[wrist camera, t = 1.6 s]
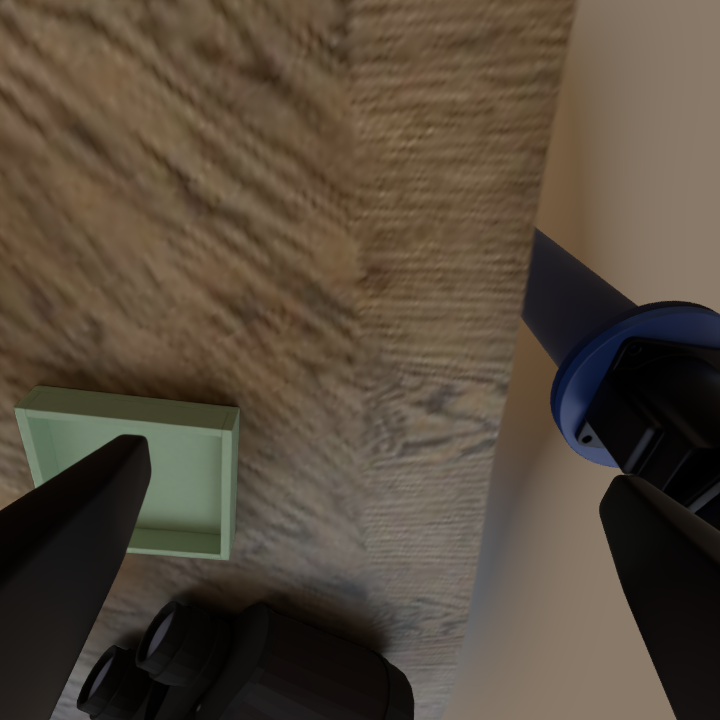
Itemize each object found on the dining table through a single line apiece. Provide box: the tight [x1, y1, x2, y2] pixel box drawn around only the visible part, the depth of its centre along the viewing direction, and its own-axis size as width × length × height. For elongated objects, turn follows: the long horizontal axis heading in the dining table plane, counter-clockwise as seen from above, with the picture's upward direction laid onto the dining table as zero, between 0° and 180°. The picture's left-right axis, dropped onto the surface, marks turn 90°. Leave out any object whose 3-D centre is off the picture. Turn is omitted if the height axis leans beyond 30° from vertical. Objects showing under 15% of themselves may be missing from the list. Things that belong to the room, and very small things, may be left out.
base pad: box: [14, 385, 240, 560], centre depth 25 cm, size 10×10×2 cm
